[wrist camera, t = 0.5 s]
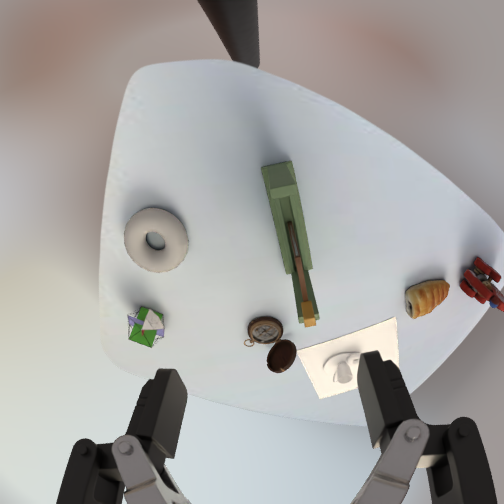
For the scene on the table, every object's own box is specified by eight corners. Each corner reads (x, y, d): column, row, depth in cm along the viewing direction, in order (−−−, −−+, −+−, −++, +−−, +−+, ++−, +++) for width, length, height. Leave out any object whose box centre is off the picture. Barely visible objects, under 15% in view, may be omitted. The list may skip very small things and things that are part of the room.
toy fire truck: (470, 250, 39) (501, 281, 30) (496, 270, 41) (523, 298, 31) (450, 281, 42) (478, 315, 33) (479, 296, 44) (503, 326, 35)
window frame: (261, 167, 35) (260, 191, 24) (291, 160, 34) (304, 181, 24) (285, 271, 42) (292, 325, 31) (311, 265, 41) (326, 318, 31)
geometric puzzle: (162, 347, 48) (155, 357, 40) (128, 335, 47) (117, 342, 39) (172, 311, 49) (167, 316, 42) (138, 299, 49) (127, 301, 41)
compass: (265, 309, 46) (265, 340, 39) (296, 333, 48) (299, 364, 41) (232, 333, 48) (229, 363, 42) (263, 354, 51) (263, 384, 44)
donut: (119, 217, 39) (146, 272, 43) (109, 225, 36) (138, 283, 40) (175, 195, 37) (201, 256, 41) (167, 202, 34) (196, 268, 38)
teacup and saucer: (361, 345, 49) (366, 360, 46) (365, 366, 53) (370, 381, 49) (319, 358, 51) (321, 374, 48) (327, 379, 54) (330, 394, 51)
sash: (284, 222, 37) (294, 274, 25) (293, 220, 37) (307, 272, 25) (294, 266, 40) (305, 328, 29) (302, 264, 40) (316, 326, 28)
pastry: (445, 268, 41) (455, 280, 38) (445, 295, 44) (454, 307, 40) (402, 288, 43) (411, 302, 40) (405, 314, 46) (412, 328, 42)
